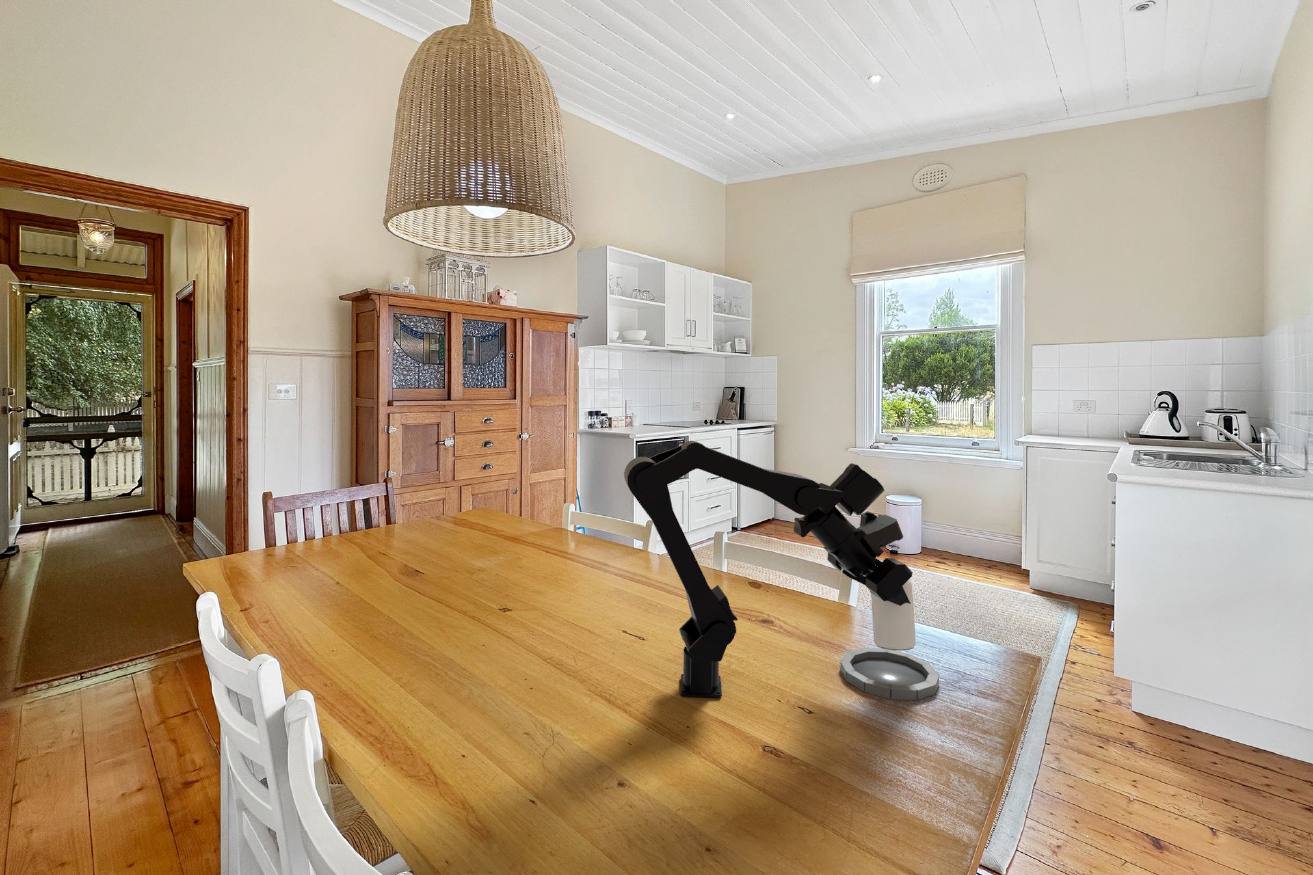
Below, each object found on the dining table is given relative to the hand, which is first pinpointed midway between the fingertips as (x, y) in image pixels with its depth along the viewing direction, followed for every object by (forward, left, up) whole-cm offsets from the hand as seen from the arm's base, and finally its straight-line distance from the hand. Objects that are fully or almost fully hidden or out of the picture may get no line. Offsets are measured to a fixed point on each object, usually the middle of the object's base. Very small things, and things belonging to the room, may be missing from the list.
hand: (897, 599), depth 100 cm
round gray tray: (0, +1, -13) cm, 13 cm away
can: (-2, +1, -7) cm, 8 cm away
